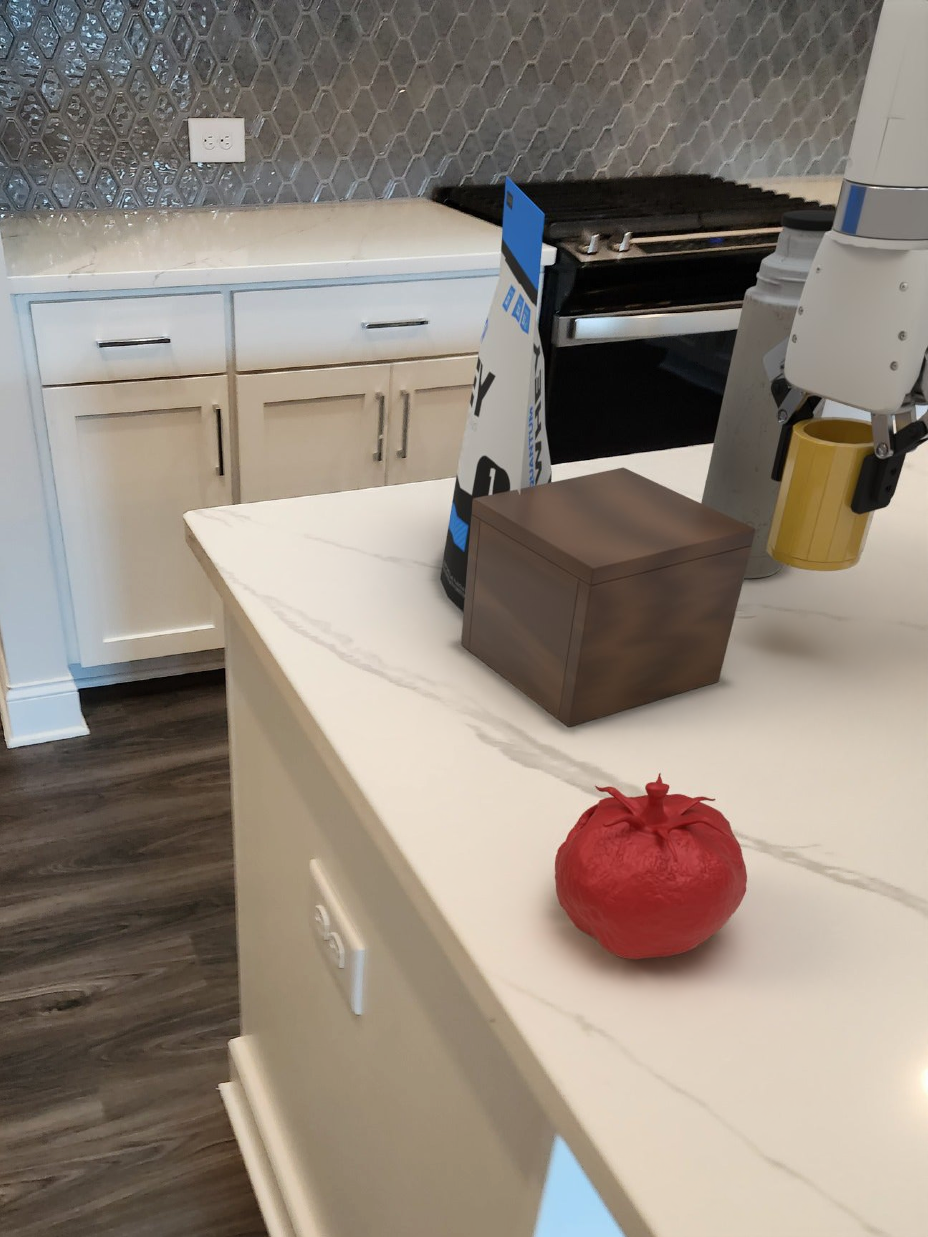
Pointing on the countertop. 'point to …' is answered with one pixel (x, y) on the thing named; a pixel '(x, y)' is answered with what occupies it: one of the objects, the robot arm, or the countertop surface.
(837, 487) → the cup
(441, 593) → the countertop surface
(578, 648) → the walnut box
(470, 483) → the protein powder
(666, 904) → the pomegranate
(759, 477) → the thermos bottle
